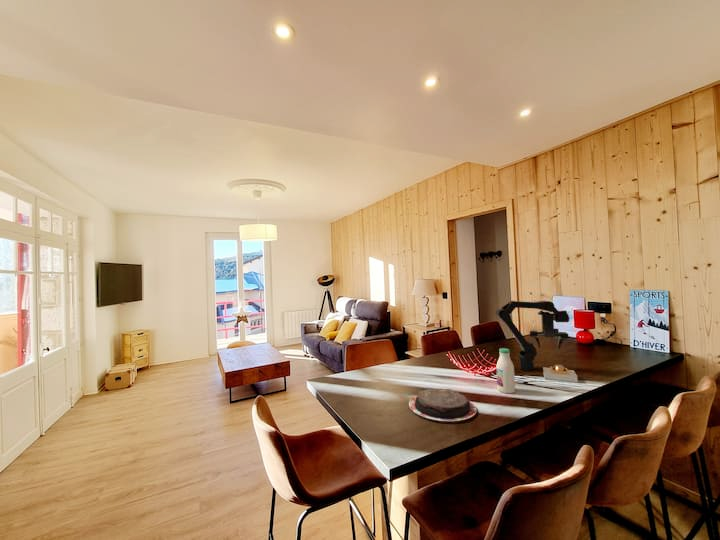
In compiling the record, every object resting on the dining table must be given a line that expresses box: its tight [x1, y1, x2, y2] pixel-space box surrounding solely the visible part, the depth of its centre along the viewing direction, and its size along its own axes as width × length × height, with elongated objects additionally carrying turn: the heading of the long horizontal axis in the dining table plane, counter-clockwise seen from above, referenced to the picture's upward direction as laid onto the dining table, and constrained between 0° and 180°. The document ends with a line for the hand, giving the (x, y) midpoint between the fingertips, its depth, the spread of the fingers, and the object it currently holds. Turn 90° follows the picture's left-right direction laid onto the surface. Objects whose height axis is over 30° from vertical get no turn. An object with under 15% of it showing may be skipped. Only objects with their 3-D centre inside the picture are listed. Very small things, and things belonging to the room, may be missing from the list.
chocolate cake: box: [408, 388, 477, 424], centre depth 123 cm, size 28×28×7 cm
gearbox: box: [542, 366, 579, 384], centre depth 154 cm, size 14×10×5 cm
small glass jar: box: [554, 364, 565, 371], centre depth 154 cm, size 4×4×6 cm
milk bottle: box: [496, 347, 516, 394], centre depth 140 cm, size 8×8×20 cm
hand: (549, 349), depth 168 cm, fingers open, 9 cm apart
